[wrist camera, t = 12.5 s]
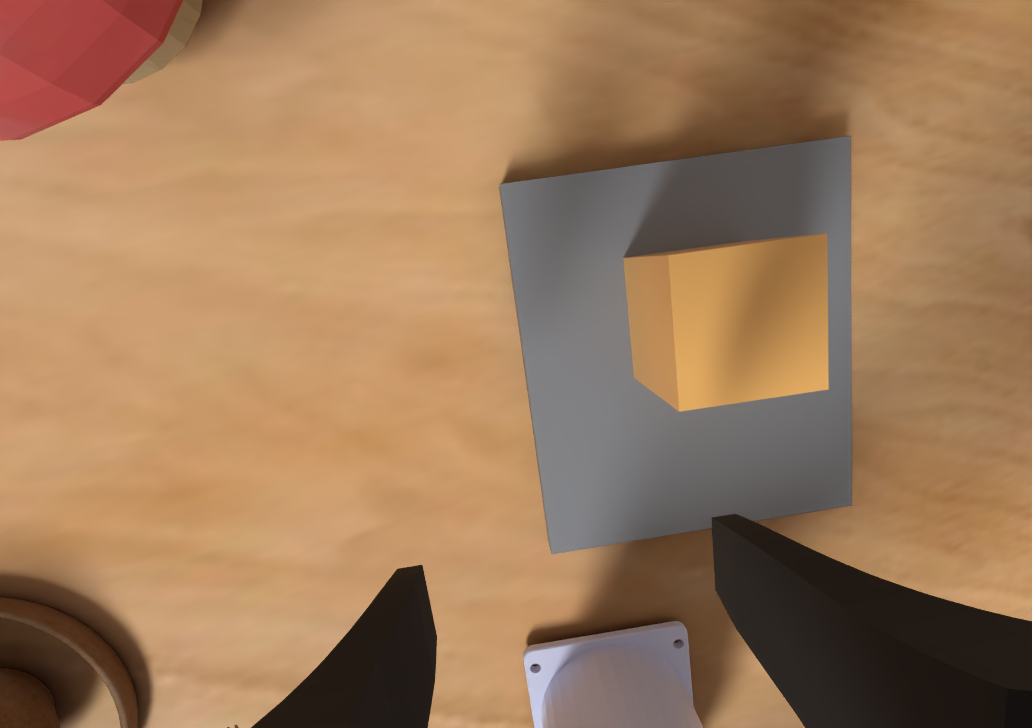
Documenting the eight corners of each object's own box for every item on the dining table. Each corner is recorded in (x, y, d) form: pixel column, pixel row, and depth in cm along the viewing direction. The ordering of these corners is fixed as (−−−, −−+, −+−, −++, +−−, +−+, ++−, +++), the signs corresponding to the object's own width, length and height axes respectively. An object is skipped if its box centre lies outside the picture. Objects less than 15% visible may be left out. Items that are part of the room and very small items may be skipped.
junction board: (836, 495, 24) (916, 547, 19) (548, 542, 23) (563, 606, 19) (833, 142, 21) (927, 108, 16) (499, 187, 20) (503, 166, 16)
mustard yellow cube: (749, 360, 21) (828, 389, 16) (633, 377, 21) (679, 411, 16) (744, 241, 20) (827, 233, 15) (623, 257, 20) (668, 255, 15)
